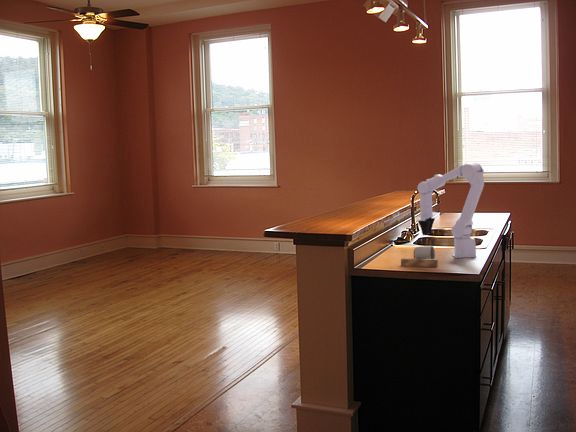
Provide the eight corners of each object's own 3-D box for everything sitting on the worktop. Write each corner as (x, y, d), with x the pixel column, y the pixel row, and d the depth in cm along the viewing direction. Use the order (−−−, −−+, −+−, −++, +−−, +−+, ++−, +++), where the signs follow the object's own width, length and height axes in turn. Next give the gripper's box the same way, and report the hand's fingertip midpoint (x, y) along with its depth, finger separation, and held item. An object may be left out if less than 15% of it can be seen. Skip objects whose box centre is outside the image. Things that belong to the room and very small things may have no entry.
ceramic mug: (417, 260, 300) (417, 244, 299) (435, 261, 296) (434, 244, 295) (411, 265, 291) (410, 248, 290) (428, 265, 287) (428, 248, 286)
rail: (401, 265, 290) (400, 259, 289) (402, 264, 291) (402, 258, 291) (436, 266, 283) (436, 260, 282) (437, 266, 284) (437, 259, 284)
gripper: (421, 205, 324) (422, 232, 325) (414, 207, 311) (415, 235, 312) (435, 204, 321) (436, 232, 322) (428, 207, 308) (429, 236, 309)
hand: (426, 234), depth 317 cm, fingers open, 7 cm apart
